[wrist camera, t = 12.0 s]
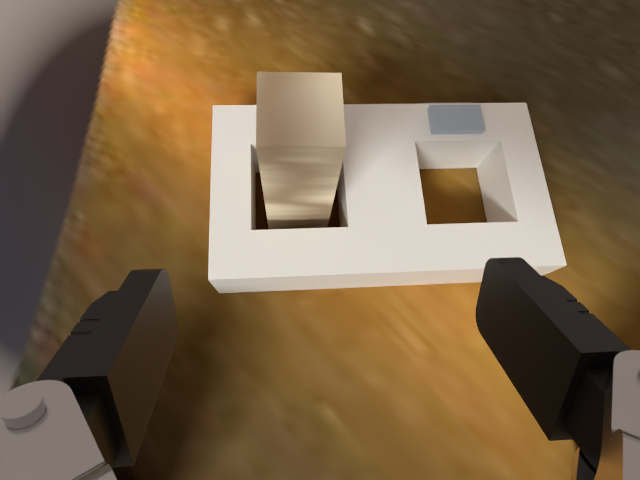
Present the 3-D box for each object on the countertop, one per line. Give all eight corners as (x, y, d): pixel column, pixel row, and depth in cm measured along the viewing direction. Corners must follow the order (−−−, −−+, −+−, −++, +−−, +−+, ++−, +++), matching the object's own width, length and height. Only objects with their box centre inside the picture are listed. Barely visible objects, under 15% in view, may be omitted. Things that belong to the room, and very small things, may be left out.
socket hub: (498, 128, 34) (528, 92, 30) (532, 279, 30) (571, 263, 26) (222, 132, 32) (211, 94, 28) (219, 293, 28) (206, 277, 24)
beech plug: (323, 184, 31) (341, 72, 20) (325, 234, 30) (346, 146, 19) (269, 184, 31) (256, 71, 20) (269, 235, 30) (255, 146, 19)
